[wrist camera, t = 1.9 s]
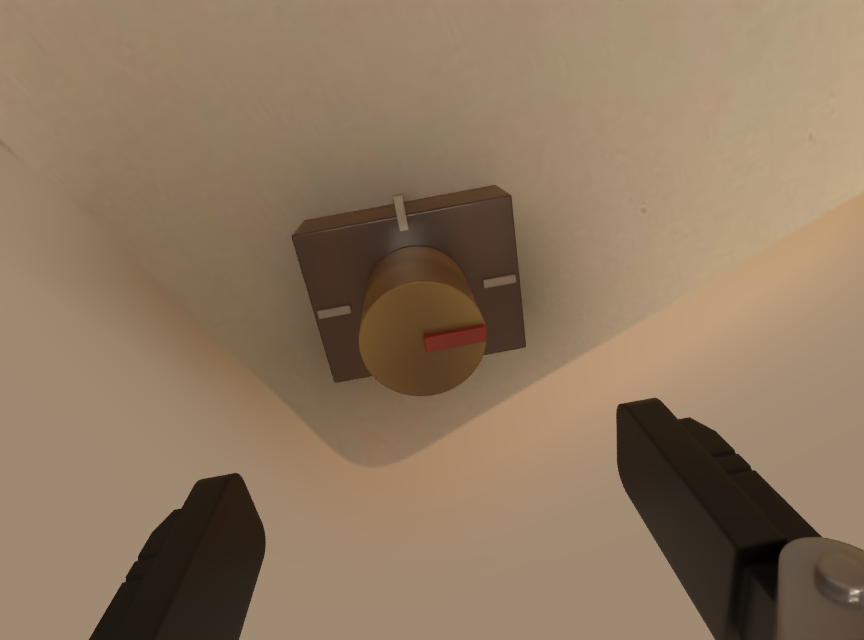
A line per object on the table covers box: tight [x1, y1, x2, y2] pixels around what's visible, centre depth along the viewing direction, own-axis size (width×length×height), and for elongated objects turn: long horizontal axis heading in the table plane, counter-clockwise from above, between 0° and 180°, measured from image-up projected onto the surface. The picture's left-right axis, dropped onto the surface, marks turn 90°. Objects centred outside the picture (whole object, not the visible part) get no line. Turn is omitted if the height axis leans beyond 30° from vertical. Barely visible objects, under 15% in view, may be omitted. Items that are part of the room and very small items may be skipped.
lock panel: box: [292, 185, 526, 383], centre depth 22 cm, size 9×9×3 cm
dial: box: [359, 246, 487, 396], centre depth 18 cm, size 4×4×5 cm
